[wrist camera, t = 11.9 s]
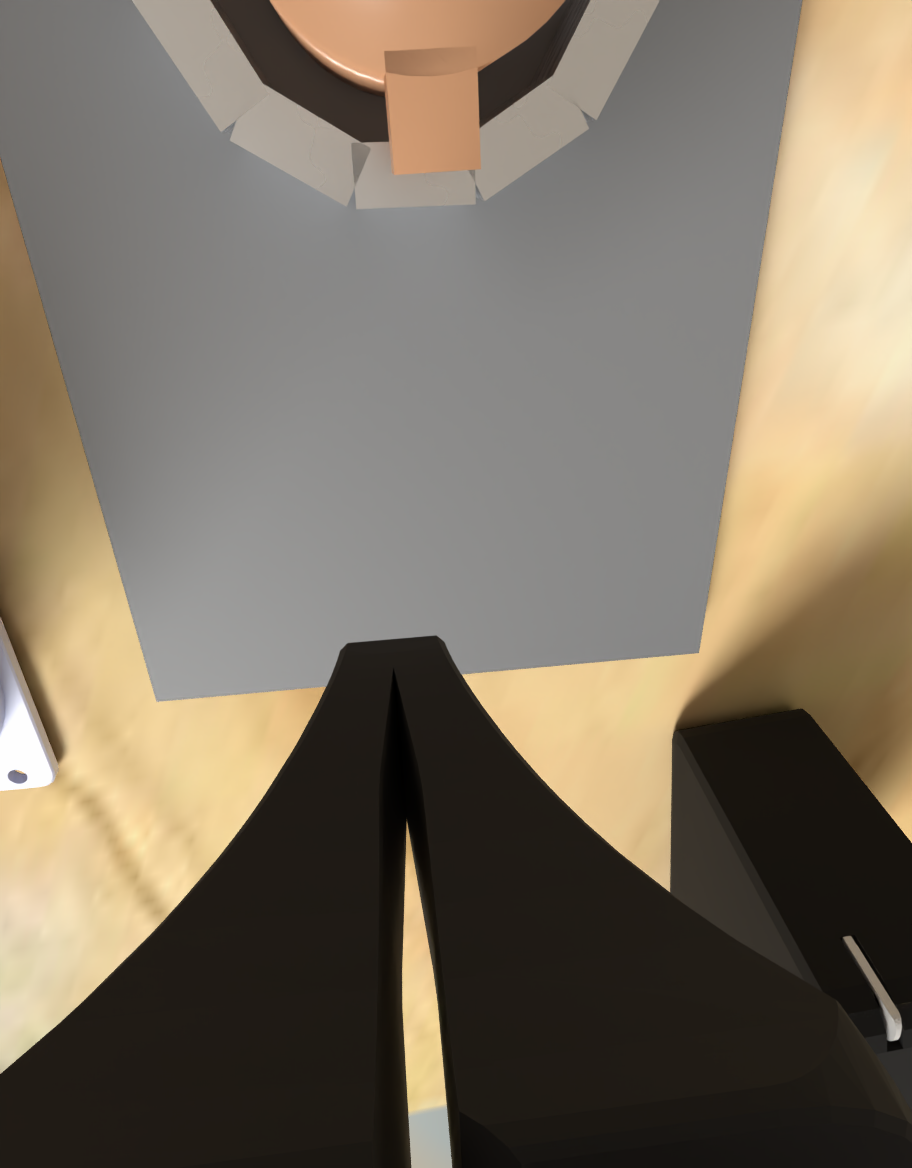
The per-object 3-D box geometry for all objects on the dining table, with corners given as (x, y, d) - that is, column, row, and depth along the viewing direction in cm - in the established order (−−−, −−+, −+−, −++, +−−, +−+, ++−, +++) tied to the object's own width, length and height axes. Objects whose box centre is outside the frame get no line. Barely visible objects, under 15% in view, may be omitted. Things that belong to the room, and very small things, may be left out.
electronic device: (667, 917, 29) (796, 1241, 20) (669, 718, 24) (841, 1036, 15) (773, 897, 29) (946, 1211, 21) (798, 695, 24) (1041, 999, 16)
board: (165, 679, 21) (156, 701, 20) (-197, -634, 10) (-248, -706, 9) (685, 633, 22) (698, 653, 22) (863, -586, 11) (904, -646, 11)
